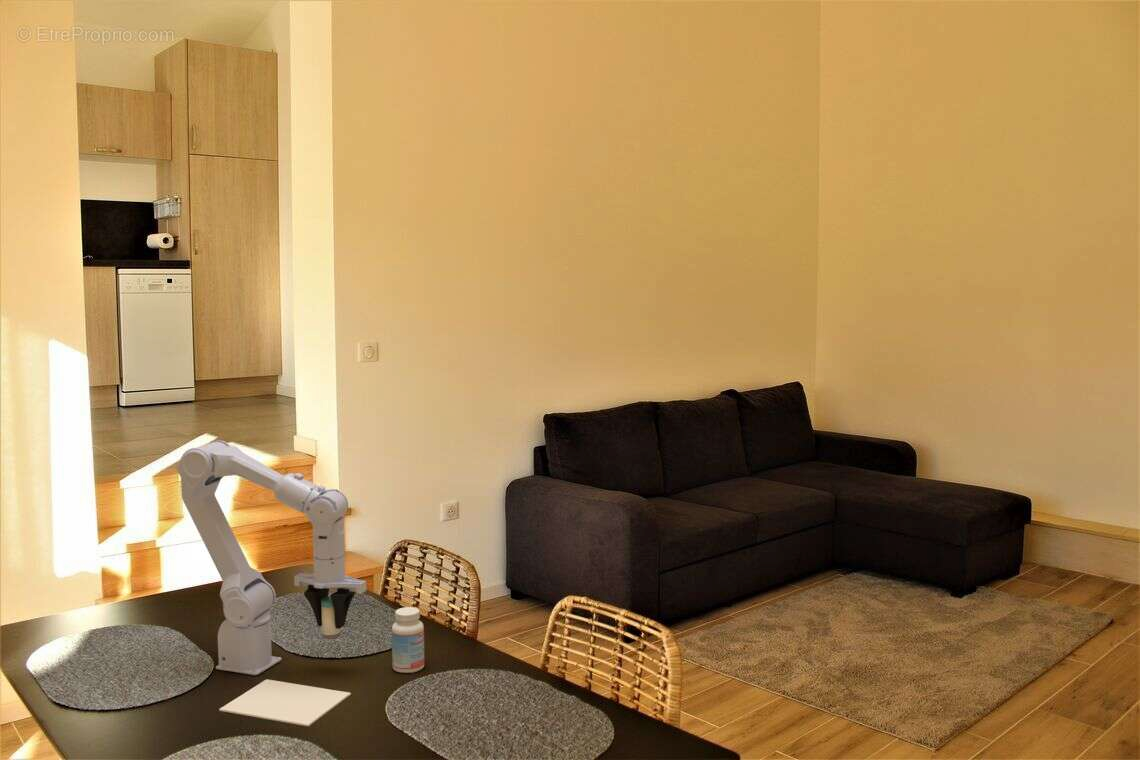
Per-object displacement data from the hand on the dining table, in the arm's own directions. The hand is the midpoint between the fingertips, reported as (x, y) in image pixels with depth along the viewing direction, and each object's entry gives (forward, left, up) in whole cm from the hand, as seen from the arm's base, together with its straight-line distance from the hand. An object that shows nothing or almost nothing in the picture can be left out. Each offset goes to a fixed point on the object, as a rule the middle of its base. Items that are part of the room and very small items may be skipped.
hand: (331, 625), depth 180 cm
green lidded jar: (0, 0, -2) cm, 2 cm away
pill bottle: (+13, +6, -9) cm, 17 cm away
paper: (0, -14, -9) cm, 17 cm away
